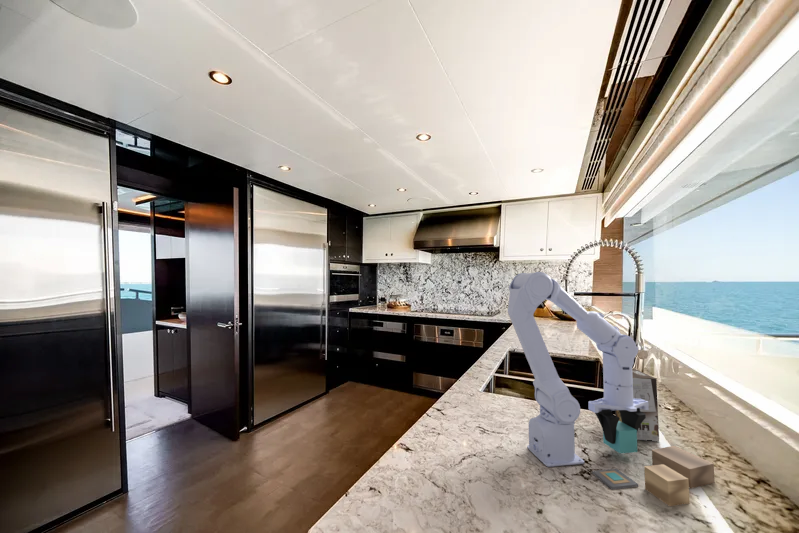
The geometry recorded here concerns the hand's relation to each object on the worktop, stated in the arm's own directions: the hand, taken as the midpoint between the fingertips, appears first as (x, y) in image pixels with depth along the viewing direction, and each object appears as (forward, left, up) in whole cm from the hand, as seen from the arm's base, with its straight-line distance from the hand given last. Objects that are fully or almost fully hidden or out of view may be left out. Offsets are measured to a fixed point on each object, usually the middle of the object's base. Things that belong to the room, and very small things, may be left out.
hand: (619, 440), depth 70 cm
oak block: (-3, -13, -4) cm, 14 cm away
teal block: (0, 0, -2) cm, 2 cm away
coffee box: (+14, +9, -4) cm, 17 cm away
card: (-9, -8, -3) cm, 12 cm away
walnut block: (+7, -8, -4) cm, 11 cm away
